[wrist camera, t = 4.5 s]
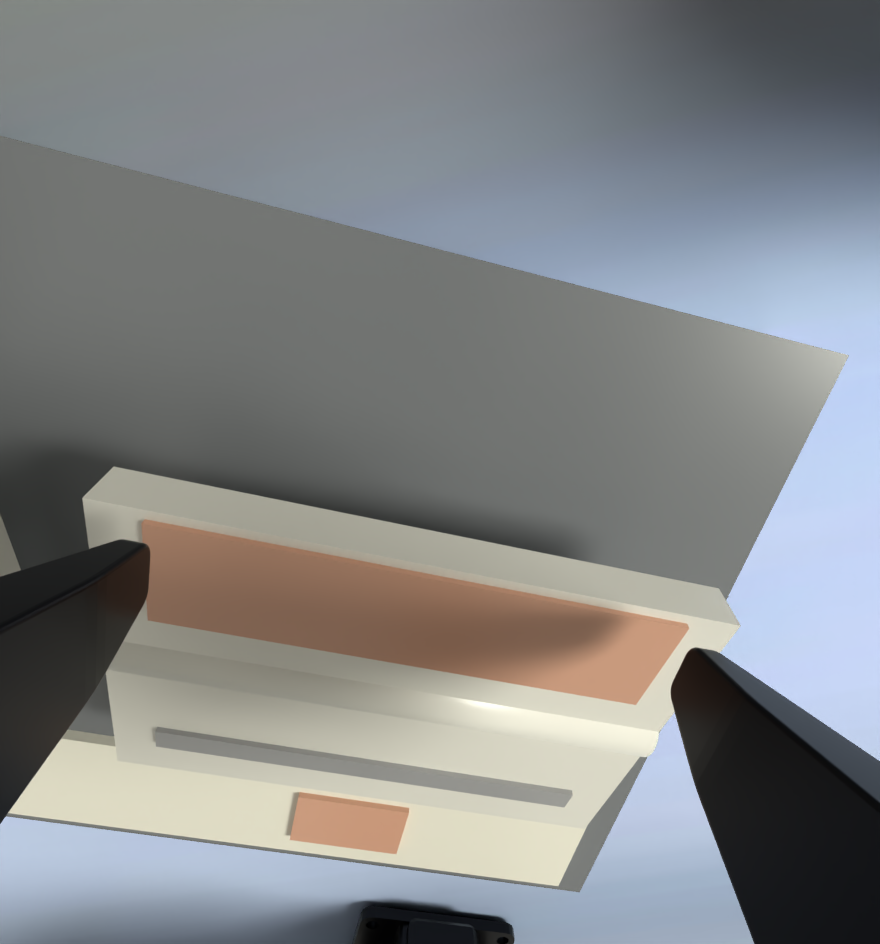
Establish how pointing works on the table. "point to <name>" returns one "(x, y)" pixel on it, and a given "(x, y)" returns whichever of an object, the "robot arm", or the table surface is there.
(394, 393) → the switch panel
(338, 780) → the cream slotted panel
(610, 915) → the table surface
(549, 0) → the table surface
